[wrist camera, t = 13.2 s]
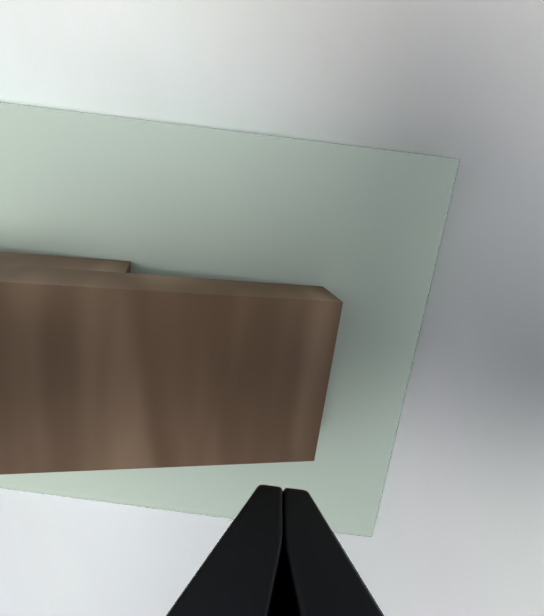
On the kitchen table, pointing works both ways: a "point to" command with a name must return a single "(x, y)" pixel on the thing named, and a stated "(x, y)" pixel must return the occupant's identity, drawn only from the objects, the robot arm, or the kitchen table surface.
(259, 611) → the robot arm
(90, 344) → the domino
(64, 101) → the kitchen table surface
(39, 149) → the sage board
